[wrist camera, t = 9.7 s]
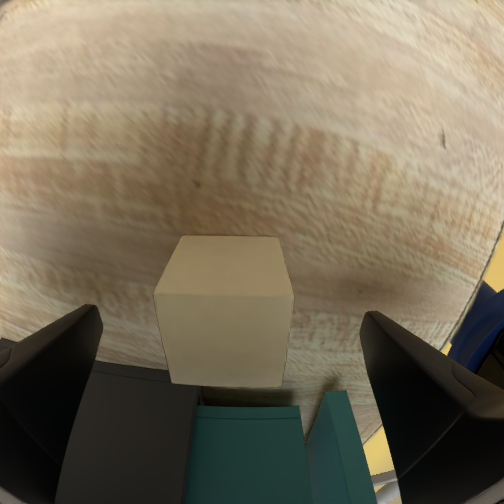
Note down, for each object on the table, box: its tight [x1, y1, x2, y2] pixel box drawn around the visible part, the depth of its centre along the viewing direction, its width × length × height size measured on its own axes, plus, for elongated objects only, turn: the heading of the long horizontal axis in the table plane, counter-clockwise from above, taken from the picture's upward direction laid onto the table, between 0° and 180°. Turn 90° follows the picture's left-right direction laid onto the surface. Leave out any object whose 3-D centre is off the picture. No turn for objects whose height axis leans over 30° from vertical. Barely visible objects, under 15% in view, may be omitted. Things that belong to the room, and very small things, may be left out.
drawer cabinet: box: [0, 338, 204, 504], centre depth 12 cm, size 15×13×10 cm
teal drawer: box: [185, 390, 400, 504], centre depth 12 cm, size 18×11×8 cm, turn 88°
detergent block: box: [153, 235, 294, 387], centre depth 10 cm, size 4×4×4 cm
